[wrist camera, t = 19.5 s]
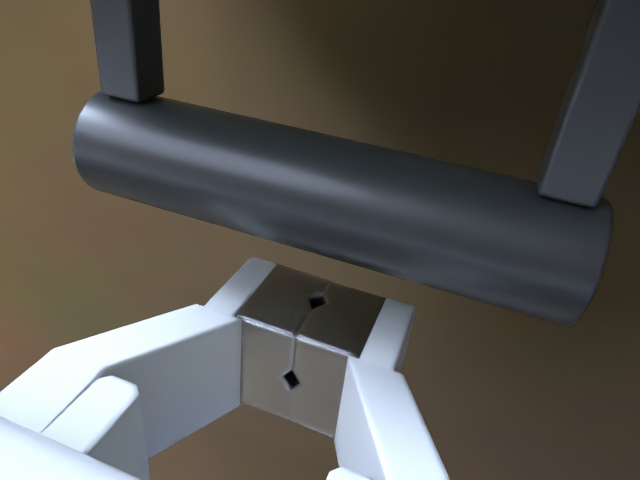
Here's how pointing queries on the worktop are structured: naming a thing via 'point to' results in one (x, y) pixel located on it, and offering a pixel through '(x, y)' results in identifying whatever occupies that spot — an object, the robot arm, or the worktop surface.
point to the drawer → (374, 174)
